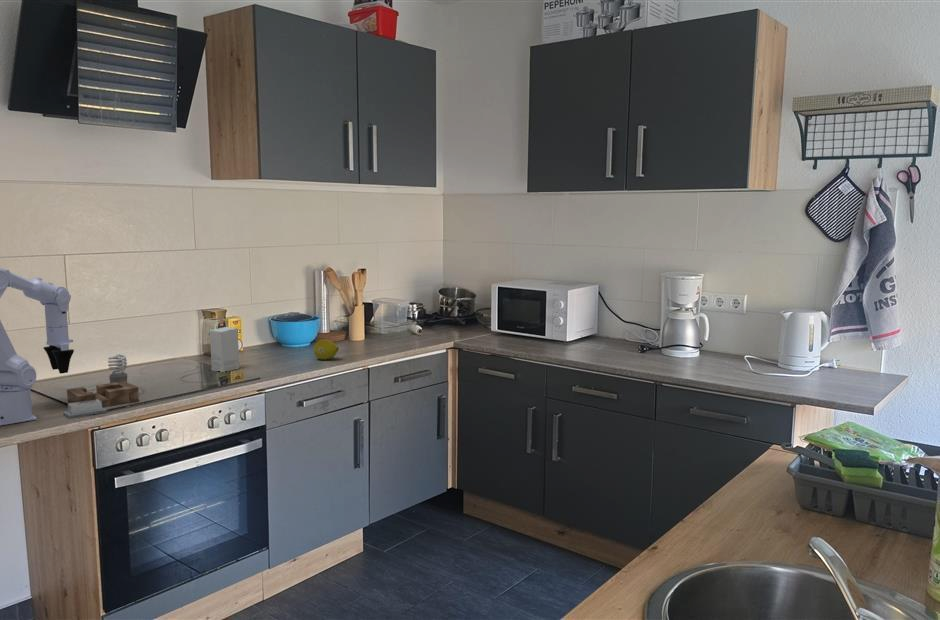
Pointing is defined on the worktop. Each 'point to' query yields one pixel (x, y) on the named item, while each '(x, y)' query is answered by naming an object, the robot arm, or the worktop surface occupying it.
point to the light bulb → (118, 368)
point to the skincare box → (224, 349)
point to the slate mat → (83, 413)
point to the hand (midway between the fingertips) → (60, 371)
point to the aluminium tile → (84, 406)
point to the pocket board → (106, 394)
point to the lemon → (325, 349)
